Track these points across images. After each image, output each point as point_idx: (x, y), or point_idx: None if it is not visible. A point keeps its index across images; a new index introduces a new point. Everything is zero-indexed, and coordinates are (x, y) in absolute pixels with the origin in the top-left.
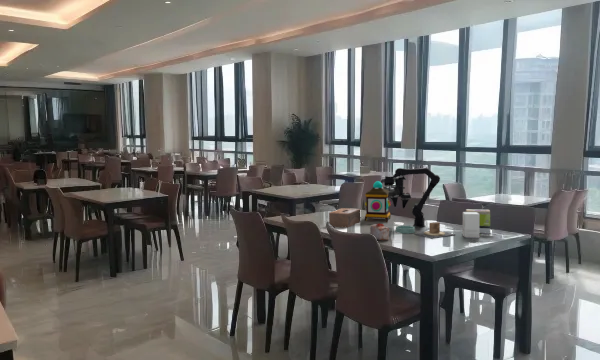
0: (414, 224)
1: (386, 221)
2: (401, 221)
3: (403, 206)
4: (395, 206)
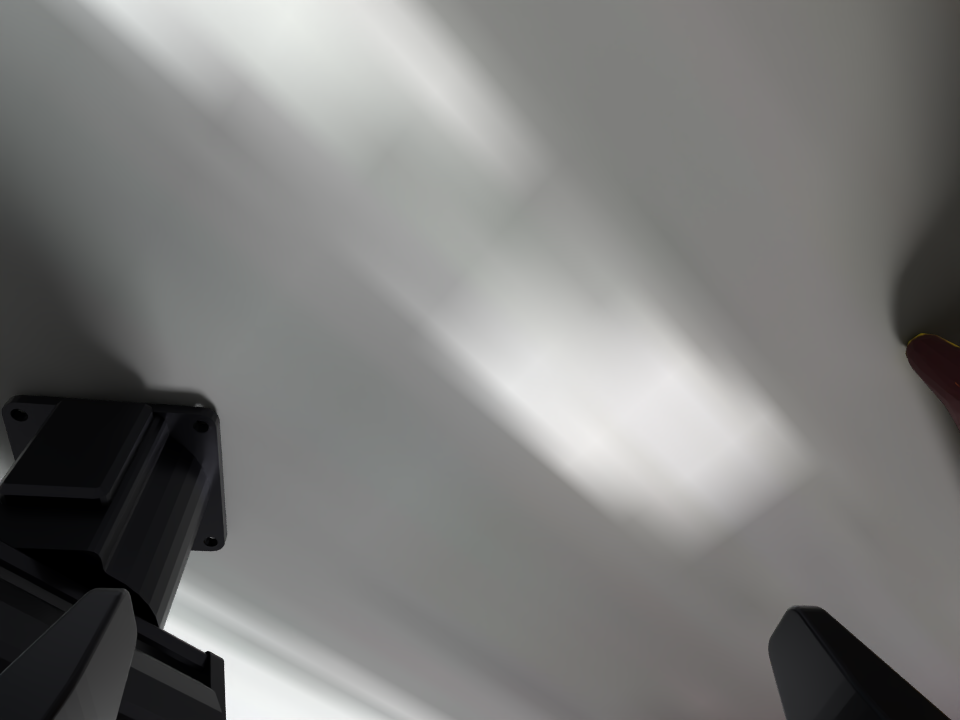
0: (130, 418)
1: (922, 335)
2: (707, 545)
3: (2, 694)
4: (780, 642)
